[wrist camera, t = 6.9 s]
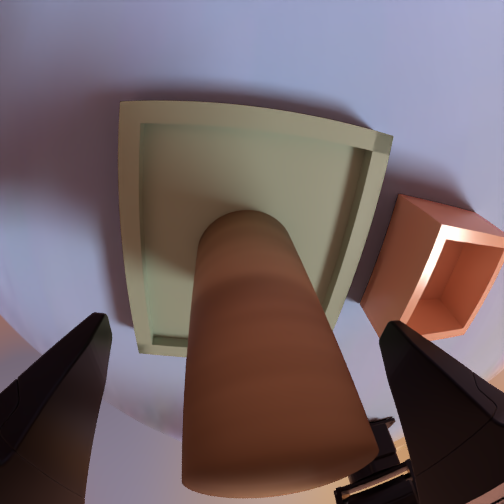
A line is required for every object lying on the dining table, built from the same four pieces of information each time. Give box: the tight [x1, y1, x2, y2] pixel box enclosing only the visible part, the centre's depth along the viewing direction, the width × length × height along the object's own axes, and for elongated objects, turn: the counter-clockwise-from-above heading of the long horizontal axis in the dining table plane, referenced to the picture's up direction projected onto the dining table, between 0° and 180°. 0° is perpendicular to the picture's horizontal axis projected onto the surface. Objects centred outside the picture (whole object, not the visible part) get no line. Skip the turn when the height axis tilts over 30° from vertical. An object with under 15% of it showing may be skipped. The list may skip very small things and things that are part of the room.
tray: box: [118, 100, 393, 357], centre depth 12 cm, size 12×10×2 cm
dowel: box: [182, 210, 379, 498], centre depth 8 cm, size 4×4×9 cm
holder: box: [360, 194, 504, 341], centre depth 13 cm, size 7×7×4 cm
